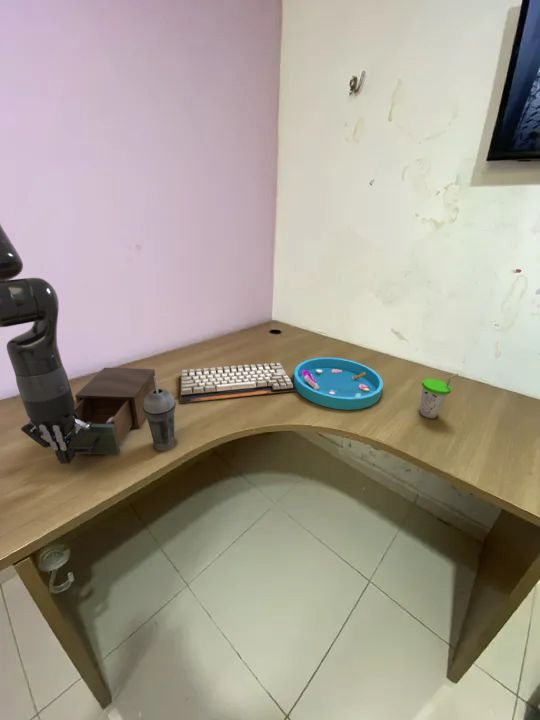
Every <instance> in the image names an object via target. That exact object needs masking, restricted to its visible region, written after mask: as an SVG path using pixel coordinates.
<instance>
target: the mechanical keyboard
mask: <svg viewBox="0 0 540 720" xmlns="http://www.w3.org/2000/svg"><path fill="white" fill-rule="evenodd" d="M288 392H296V388H295V387H294V384H293V380H292V378H290V377H289V376H288V374H287V372H286V371H285V370H284V368H283V365H282V364H281V363H280V362H275V363H274V362H271V363H269V364H268V363H256V364H250V365H249V364H244V365H242V364H241V365H237V366H236V365H230V367H229V366H223V367H222V366H217V367H214V366H213V367H210V368H208V367H204V368H203V369H202V368H196V369H195V368H189V369H181V374H180V376H179V404H180V405H181V404H187V403H189V404H190V403H199V402H207V401H216V400H225V399H233V398H244V397H251V396H259V395H267V394H280V393H288Z"/></svg>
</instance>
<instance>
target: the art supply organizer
mask: <svg viewBox="0 0 540 720" xmlns="http://www.w3.org/2000/svg"><path fill="white" fill-rule="evenodd" d="M293 387H294V389H295V391H296V392H298V393H299V394H300V395H301V396H302V397H303V398H305V399H306V400H308V401H310V402H312V403H314V404H317V405H319V406H322V407H326V408H330V409H334V410H346V411H352V410H353V411H354V410H362V409H367V408H369V407H371V406H373V405H375V404H377V403H378V401H379V400H380V398H381V396H382V392H383V388H384V380H383V379H382V377H381V376H380V375H379V374H378V373H377V372H376V371H375V370H374V369H372V368H370V367H369V366H367V365H364V364H362V363H360V362H357V361H353V360H349V359H345V358H340V357H339V358H338V357H316V358H310V359H307V360H304V361H302V362H301V363H299V364H298V365H297V366H296V367H295V369H294V376H293Z"/></svg>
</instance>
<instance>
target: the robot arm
mask: <svg viewBox="0 0 540 720" xmlns="http://www.w3.org/2000/svg"><path fill="white" fill-rule="evenodd" d="M23 269H24V263H23V260H22V257H21V256H20V254H19V252H18V251H17V249H16V248H15V246H14V244H13V243H12V241H11V239H10V237H9V236H8V235H7V233H6V231H5V230H4V228H3V225H2V224H1V223H0V328H9V327H15V326H18V325H25V324H29V323H32V326H31V328H30V329H28V330H27V331H25V332H23V333H21V334H19V335H17V336H15V337H12V338H11V339H9V340H8V341H7V343H6V351H7V355H8V358H9V360H10V364H11V366H12V370H13V372H14V376H15V381H16V386H17V389H18V392H19V395H20V397H21V401H22V404H23V406H24V410H25V413H26V416H27V417H28V418H29V421H28V422H26V423H25V424H24V425H23V426H22V427H20V430H21V432H22V433H24V434H26V436H28V437H29V438H31V439H32V440H33V441H35V442H36V443H37V444H38V445H40V446H41V447H42V448H44V449H47V448H51V449H52V450H53V451H54V452H55V456H56V459H57V460H58V461H59V462H60V464H62V465H69V464H71V462H72V461H73V460H74V459H75V457H76V454H75V451H74V448H75V447H76V445H77V444H78V443H79V442H80V441H81V439H82V438H83V437H84V435H85V434H86V433H87V431H88V430H89V429H90V427H91V426H92V423H91V422H86V423H84V422H82V421H80V420H79V416H78V415H77V414H76V412H75V411H74V407H75V406H76V404H75V400H74V395H73V392H72V389H71V383H70V381H69V377H68V374H67V371H66V369H65V366H64V365H63V360H62V357H61V353H60V350H59V346H58V320H59V312H60V311H59V310H60V309H59V308H60V306H59V305H60V303H59V297H58V294H57V293H58V292H57V290H55V288H54V286H52V284H51V283H50V282H48V281H47V280H45V279H44V278H41V277H24V278H18V279H17V278H16V277H18V276H19V275H20V274H21V273H22V272H23ZM74 426H75V427H76V429H75V430H76V432H75V433H77V434H76V436H75V437H74V438H73V437H72V434H73V428H74ZM42 436H43V437H42Z"/></svg>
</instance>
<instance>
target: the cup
mask: <svg viewBox="0 0 540 720" xmlns="http://www.w3.org/2000/svg"><path fill="white" fill-rule="evenodd" d="M458 376H459V373H455V374H453V375H451V376H449V378H448V379H447V382H445V381H444V380H440V379H437V378H426V379H425V378H424V379H423V381H422V382H421V386H422V392H421V400H420V407H419V408H420V409H419V414H420V415H421V416H423V417H424V418H427V419H436V418H437V416H438V414H439V412H440V410H441V408H442V406H443V405H444V403H445V400H446V399H447V397H448V395H449V394H451V391H452V389H453V387H452V386H451V385H450V383H451V381H452V379H454V378H455V377H458Z"/></svg>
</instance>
